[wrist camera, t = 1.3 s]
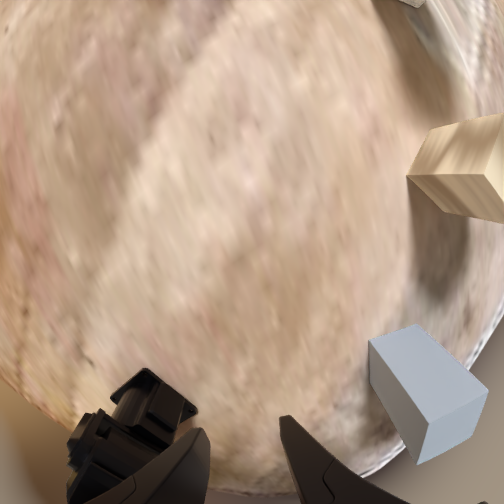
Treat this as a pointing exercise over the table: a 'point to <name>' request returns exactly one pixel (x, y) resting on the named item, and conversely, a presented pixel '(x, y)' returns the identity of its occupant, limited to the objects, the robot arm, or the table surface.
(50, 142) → the table surface
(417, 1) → the syrup box
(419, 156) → the birch post
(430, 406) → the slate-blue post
